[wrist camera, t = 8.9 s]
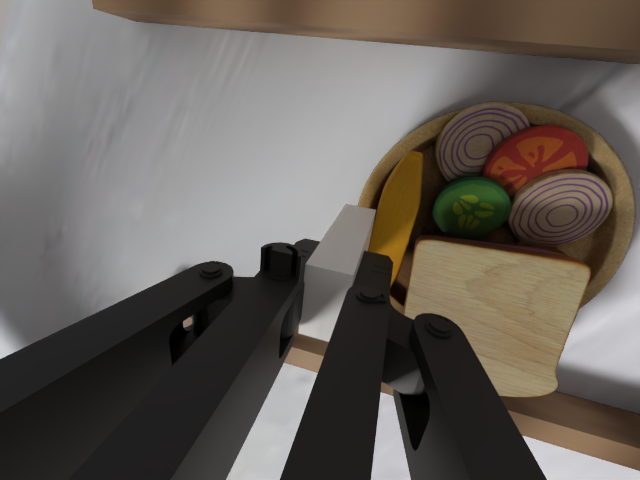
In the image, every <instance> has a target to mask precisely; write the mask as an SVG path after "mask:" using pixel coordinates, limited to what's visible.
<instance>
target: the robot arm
mask: <svg viewBox="0 0 640 480" xmlns="http://www.w3.org/2000/svg"><path fill="white" fill-rule="evenodd" d="M375 213H376V210H374V209H369V208H364V207H359V206H353V205H348V204H346V205H345V206H344V208H343V209H342V211H341V212H340V214H339V215H338V217H337V218H336V220H335V221H334V223H333V224H332V226H331V227H330V228H329V230H328V231H327V233H326V234H325V236H324V237H323V239H322V240H321V242H319V241H314V240H309V239H303V240H300V241H298V242H296V243H295V244H294V245H291V244H288V243H270V244H266V245H264V246H263V247H261V265H260V271H259V272H258V273H257V274H256V276H255V277H233V269H232V267H231V266H229V265H228V264H226V263H222V262H217V261H216V262H215V261H210V262H204V263H201V264H198V265H195V266H193V267H191V268H189V269H187V270H185V271H183V272H181V273H179V274H177V275H174V276H172V277H170V278H168V279H166V280H164V281H162V282H160V283H158V284H156V285H154V286H152V287H149V288H147V289H145V290H143V291H141V292H139V293H137V294H135V295H133V296H131V297H129V298H127V299H125V300H122V301H120V302H118V303H116V304H114V305H112V306H110V307H108V308H106V309H104V310H102V311H100V312H98V313H95V314H93V315H91V316H89V317H87V318H85V319H83V320H81V321H79V322H77V323H75V324H73V325H70V326H68V327H66V328H64V329H62V330H60V331H58V332H56V333H54V334H52V335H50V336H48V337H46V338H43V339H41V340H39V341H37V342H35V343H33V344H31V345H29V346H27V347H25V348H23V349H21V350H19V351H16V352H14V353H12V354H10V355H8V356H6V357H4V358H2V359H0V480H226V478H227V476H228V474H229V472H230V470H231V468H232V466H233V464H234V462H235V460H236V458H237V456H238V454H239V452H240V450H241V448H242V446H243V444H244V442H245V440H246V438H247V436H248V434H249V432H250V430H251V428H252V426H253V424H254V422H255V420H256V417H257V415H258V413H259V411H260V409H261V407H262V405H263V403H264V401H265V399H266V397H267V395H268V393H269V391H270V389H271V387H272V385H273V383H274V381H275V379H276V377H277V375H278V373H279V371H280V369H281V367H282V365H283V363H284V361H285V359H286V357H287V355H288V353H289V351H290V349H291V347H292V345H293V342H294V334H295V329H296V328H297V326H298V324H299V331H298V333H299V334H302V335H306V336H309V337H313V338H317V339H320V340H324V341H327V342H329V343H328V346H327V349H326V352H325V355H324V357H323V360H322V363H321V366H320V369H319V371H318V374H317V377H316V380H315V383H314V385H313V388H312V391H311V394H310V397H309V399H308V402H307V405H306V408H305V411H304V414H303V416H302V419H301V422H300V425H299V428H298V430H297V433H296V436H295V439H294V442H293V444H292V447H291V450H290V453H289V456H288V458H287V461H286V464H285V467H284V470H283V473H282V475H281V478H280V480H371V472H372V463H373V454H374V445H375V436H376V427H377V419H378V410H379V401H380V392H381V383H382V382H383V383H385V384H387V385H388V386H390V387H392V388H393V396H394V401H395V406H396V410H397V415H398V420H399V424H400V429H401V434H402V439H403V443H404V448H405V453H406V458H407V462H408V467H409V472H410V476H411V480H547V479H546V477H545V476H544V474H543V472H542V470H541V469H540V467H539V465H538V463H537V461H536V460H535V458H534V456H533V454H532V453H531V451H530V449H529V447H528V446H527V444H526V442H525V440H524V438H523V437H522V435H521V433H520V431H519V430H518V428H517V426H516V424H515V423H514V421H513V419H512V417H511V415H510V414H509V412H508V410H507V408H506V407H505V405H504V403H503V401H502V400H501V398H500V396H499V394H498V392H497V391H496V389H495V387H494V385H493V384H492V382H491V380H490V378H489V377H488V375H487V373H486V371H485V370H484V368H483V366H482V364H481V362H480V361H479V359H478V357H477V355H476V354H475V352H474V350H473V348H472V347H471V345H470V343H469V341H468V339H467V338H466V336H465V334H464V332H463V331H462V330H461V328H460V327H459V326H458V325H457V324H456V323H454V322H453V321H451V320H450V319H448V318H446V317H444V316H441V315H438V314H433V313H422V314H420V315H417V316H416V317H415V319H414V320H413V319H411V318H409V317H407V316H405V315H403V314H401V313H400V312H399V311H397V310H396V309H395V308H394V307H393V306H392V304H391V301H390V297H389V296H390V287H391V279H392V270H393V261H392V260H391V258H390V257H389V256H387V255H383V254H378V253H373V252H369V251H368V248H369V243H370V238H371V233H372V228H373V223H374V218H375ZM191 316H192V324H191V325H189V326H188V327H185V328H184V327H183V321H184V320H186V319H187V318H189V317H191Z"/></svg>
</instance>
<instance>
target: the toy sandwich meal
mask: <svg viewBox="0 0 640 480" xmlns="http://www.w3.org/2000/svg"><path fill="white" fill-rule="evenodd" d="M358 206H359V207H364V208H369V209H374V210H376V213H375V218H374V223H373V228H372V233H371V238H370V243H369V248H368V251H369V252H373V253H378V254H383V255H387V256H389V257H390V258H391V260H392V261H393V270H392V279H391V287H390V296H389V297H390V301H391V304H392V306H393V307H394V308H395V309H396V310H397V311H399V312H400V313H401V314H403V315H405V316H407V317H409V318H411V319H413V320H414V319H415V317H416V316H417V315H420V314H422V313H433V314H438V315H441V316H444V317H446V318H448V319H450V320H451V321H453V322H454V323H456V324H457V325H458V326H459V327H460V328H461V330H462V331H463V332H464V334H465V336H466V338H467V339H468V341H469V343H470V345H471V347H472V348H473V350H474V352H475V354H476V355H477V357H478V359H479V361H480V362H481V364H482V366H483V368H484V370H485V371H486V373H487V375H488V377H489V378H490V380H491V382H492V384H493V385H494V387H495V389H496V391H497V392H498V394H499V396H508V397H535V396H542V395H546V394H549V393H552V392H554V391H555V390H556V389H557V388H558V385H559V382H558V379H557V376H556V367H557V364H558V362H559V359H560V356H561V353H562V351H563V349H564V345H565V343H566V340H567V337H568V335H569V332H570V330H571V327H572V325H573V322H574V320H575V318H576V315H577V313H578V310H579V309H580V308H581V307H582V306H584V305H585V304H586V303H588V302H589V301H590V300H591V299H592V298H594V297H595V296H596V295H597V294H598V293H599V292H600V291H601V290H602V289H603V288H604V286H605V285H606V284H607V283H608V282H609V281H610V279H611V278H612V277H613V275H614V274H615V273H616V271H617V269H618V268H619V266H620V265H621V263H622V261H623V259H624V257H625V255H626V253H627V250H628V248H629V245H630V242H631V238H632V234H633V230H634V224H635V197H634V191H633V187H632V183H631V180H630V177H629V174H628V172H627V170H626V168H625V166H624V164H623V162H622V160H621V158H620V157H619V156H618V154H617V153H616V151H615V150H614V149H613V148H612V147H611V145H610V144H609V143H608V142H607V141H606V140H605V139H604V138H603V137H602V136H601V135H600V134H599V133H597V132H596V131H595V130H594V129H592V128H591V127H589V126H588V125H586V124H585V123H583V122H581V121H580V120H578V119H576V118H574V117H572V116H570V115H567V114H565V113H562V112H560V111H557V110H554V109H551V108H547V107H543V106H539V105H532V104H525V103H511V102H510V103H502V102H485V103H479V104H477V105H474V106H471V107H467V108H463V109H460V110H456V111H453V112H451V113H448V114H445V115H442V116H440V117H438V118H436V119H433V120H431V121H429V122H428V123H426V124H424V125H422V126H420V127H419V128H417V129H415V130H414V131H412V132H411V133H410V134H408V135H407V136H406V137H404V138H403V139H402V140H400V141H399V142H398V143H397V144H396V145H395V146H394V147H393V148H392V149H391V150H390V151H389V152H388V153H387V154H386V155H385V156H384V157H383V158H382V160H381V161H380V162H379V163H378V165H377V166H376V167H375V169H374V170H373V172H372V173H371V175H370V177H369V179H368V180H367V182H366V184H365V186H364V189H363V191H362V194H361V196H360V199H359V203H358Z"/></svg>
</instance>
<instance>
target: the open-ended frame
mask: <svg viewBox="0 0 640 480" xmlns="http://www.w3.org/2000/svg"><path fill="white" fill-rule="evenodd" d="M92 2H93V8H94V9H97V10H100V11H103V12H106V13H110V14H113V15H116V16H119V17H123V18H126V19H129V20H132V21H136V22H148V23H160V24H171V25H183V26H195V27H207V28H219V29H230V30H242V31H254V32H266V33H278V34H290V35H301V36H313V37H325V38H337V39H349V40H360V41H372V42H384V43H396V44H408V45H420V46H431V47H443V48H455V49H467V50H479V51H491V52H502V53H514V54H526V55H538V56H550V57H561V58H573V59H585V60H597V61H609V62H621V63H632V64H640V0H92ZM191 324H192V316H191V317H189V318H187V319H186V320H184V321H183V327H184V328H185V327H188V326H189V325H191ZM298 331H299V324H298V326H297V328H296V329H295V334H294V342H293V345H292V347H291V349H290V351H289V353H288V355H287V357H286V359H285V361H284V363H287V364H290V365H294V366H297V367H300V368H304V369H307V370H310V371H313V372H317V373H318V371H319V369H320V366H321V363H322V360H323V357H324V355H325V352H326V349H327V346H328V343H329V342H327V341H324V340H320V339H317V338H313V337H309V336H306V335H302V334H299V333H298ZM381 392H382V393H386V394H389V395H392V396H393V388H392V387H390V386H388V385H387V384H385V383H383V382H382V383H381ZM500 398H501V400H502V401H503V403H504V405H505V407H506V408H507V410H508V412H509V414H510V415H511V417H512V419H513V421H514V423H515V424H516V426H517V428H518V430H519V431H520V433H521V435H524V436H527V437H530V438H534V439H537V440H540V441H543V442H547V443H550V444H553V445H556V446H560V447H563V448H566V449H570V450H573V451H576V452H579V453H583V454H586V455H589V456H593V457H596V458H599V459H602V460H606V461H609V462H612V463H616V464H619V465H622V466H625V467H629V468H632V469H635V470H639V471H640V414H636V413H632V412H629V411H625V410H621V409H618V408H614V407H610V406H607V405H603V404H599V403H596V402H592V401H589V400H585V399H581V398H578V397H574V396H570V395H567V394H563V393H559V392H556V391H554V392H552V393H549V394H546V395H542V396H535V397H508V396H500Z"/></svg>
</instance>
